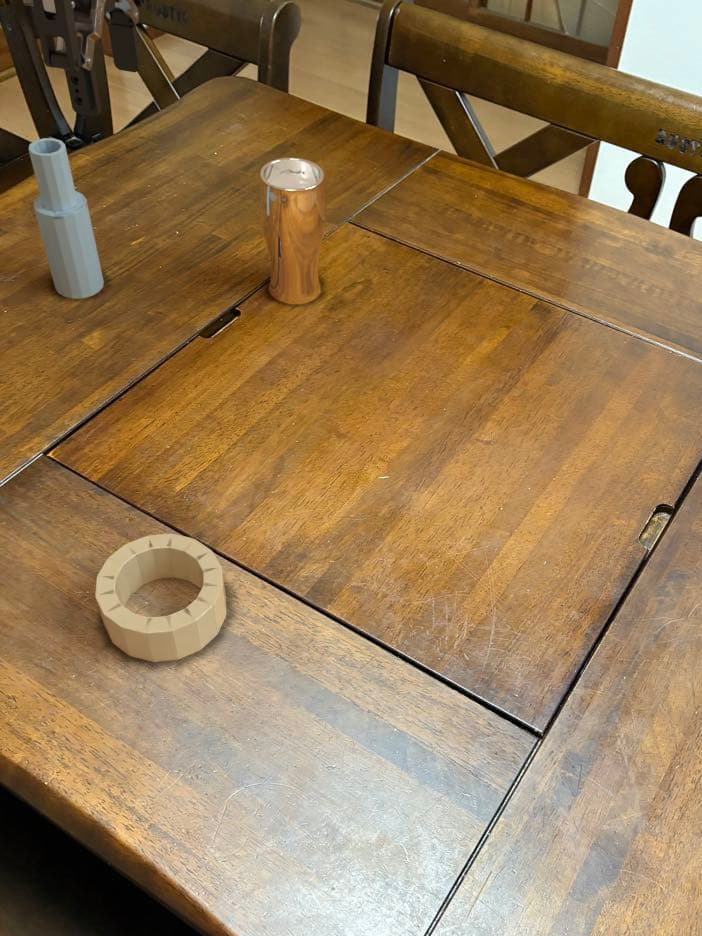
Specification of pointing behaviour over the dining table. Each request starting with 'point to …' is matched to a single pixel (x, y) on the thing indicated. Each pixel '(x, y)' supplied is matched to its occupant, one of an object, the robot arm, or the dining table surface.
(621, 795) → the dining table surface
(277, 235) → the beer glass
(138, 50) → the robot arm
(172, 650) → the ring
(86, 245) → the bottle
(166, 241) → the dining table surface
